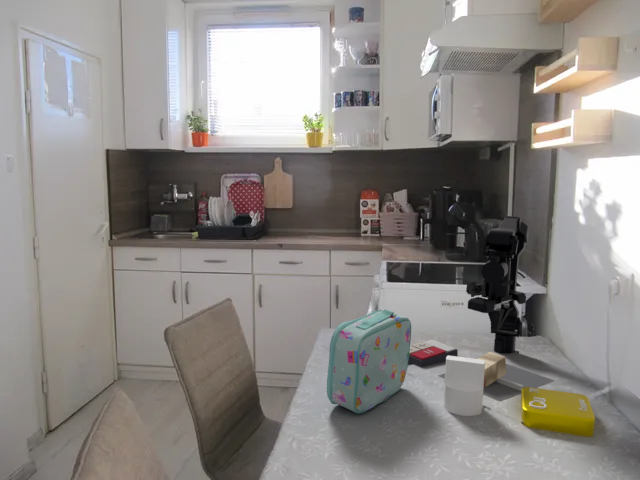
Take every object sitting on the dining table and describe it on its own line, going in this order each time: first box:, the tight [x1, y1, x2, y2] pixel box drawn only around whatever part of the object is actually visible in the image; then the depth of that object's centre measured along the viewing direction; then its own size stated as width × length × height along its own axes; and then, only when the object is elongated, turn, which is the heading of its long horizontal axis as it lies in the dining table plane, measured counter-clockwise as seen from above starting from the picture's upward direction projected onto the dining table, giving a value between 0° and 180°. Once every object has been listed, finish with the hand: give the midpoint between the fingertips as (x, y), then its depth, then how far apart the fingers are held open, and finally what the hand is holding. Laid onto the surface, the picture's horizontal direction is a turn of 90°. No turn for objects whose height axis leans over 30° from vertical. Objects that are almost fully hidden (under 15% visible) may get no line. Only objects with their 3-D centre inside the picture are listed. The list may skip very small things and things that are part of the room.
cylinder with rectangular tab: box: [443, 355, 485, 417], centre depth 134 cm, size 9×9×12 cm
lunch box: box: [326, 309, 412, 414], centre depth 138 cm, size 27×10×21 cm, turn 144°
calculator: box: [408, 339, 459, 368], centre depth 167 cm, size 11×4×15 cm
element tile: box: [520, 387, 596, 438], centre depth 130 cm, size 15×15×5 cm
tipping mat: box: [437, 363, 556, 402], centre depth 152 cm, size 24×20×2 cm
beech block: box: [477, 351, 507, 387], centre depth 149 cm, size 5×5×9 cm
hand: (495, 330), depth 155 cm, fingers closed
